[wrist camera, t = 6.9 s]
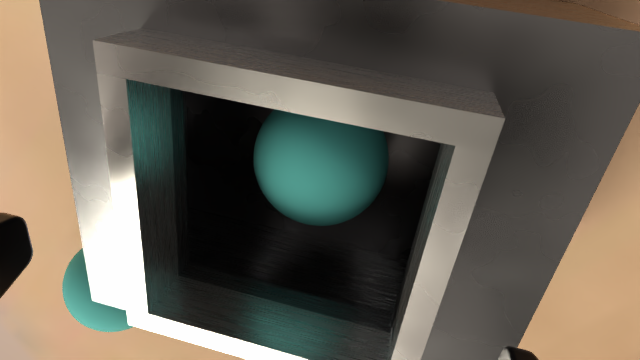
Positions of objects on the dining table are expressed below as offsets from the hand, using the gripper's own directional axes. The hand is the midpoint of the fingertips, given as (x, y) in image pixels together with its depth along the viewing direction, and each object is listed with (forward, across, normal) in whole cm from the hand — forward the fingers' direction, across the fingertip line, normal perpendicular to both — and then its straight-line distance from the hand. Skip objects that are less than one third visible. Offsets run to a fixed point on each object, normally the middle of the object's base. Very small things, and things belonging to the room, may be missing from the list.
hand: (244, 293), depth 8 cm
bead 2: (+8, 0, 0) cm, 8 cm away
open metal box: (+8, 0, 0) cm, 8 cm away
